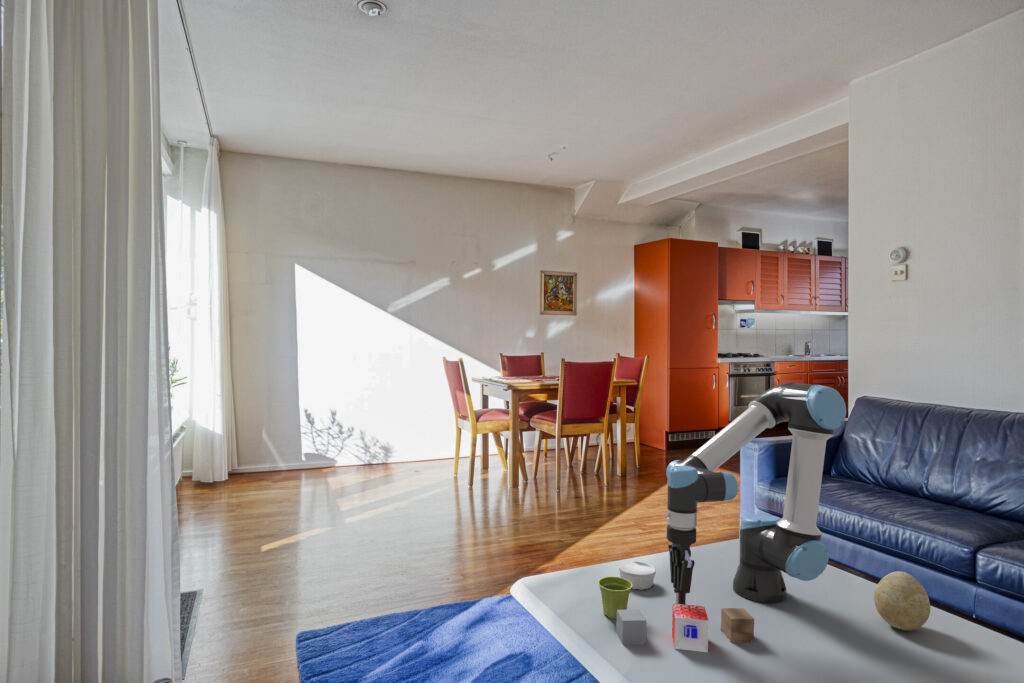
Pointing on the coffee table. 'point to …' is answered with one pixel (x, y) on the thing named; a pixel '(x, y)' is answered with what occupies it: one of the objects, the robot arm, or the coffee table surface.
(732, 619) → the walnut block
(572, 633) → the coffee table surface
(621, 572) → the ramekin
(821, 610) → the coffee table surface
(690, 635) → the puzzle cube
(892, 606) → the fossilized egg
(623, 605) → the plant pot
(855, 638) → the coffee table surface
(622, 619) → the slate grey block
